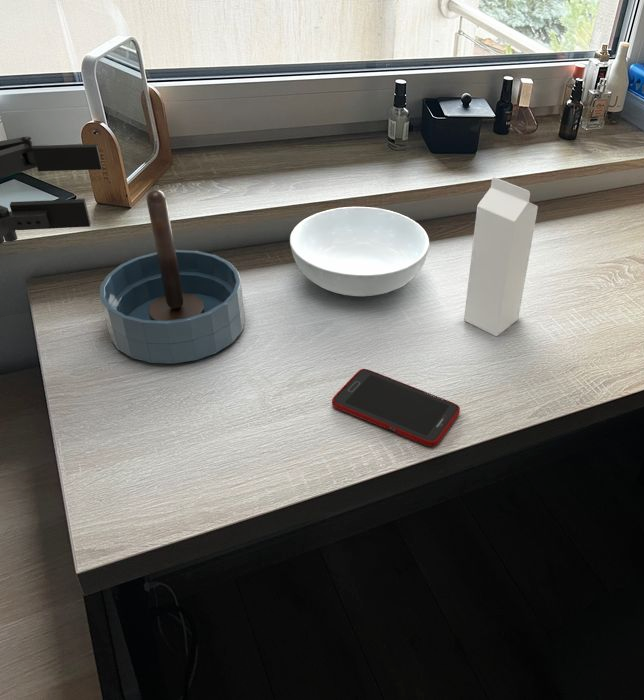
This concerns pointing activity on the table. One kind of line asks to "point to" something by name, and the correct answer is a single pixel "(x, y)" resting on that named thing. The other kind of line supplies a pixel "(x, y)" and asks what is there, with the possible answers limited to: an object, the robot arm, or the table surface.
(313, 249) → the serving bowl
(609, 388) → the table surface
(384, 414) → the cell phone
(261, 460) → the table surface
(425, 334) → the table surface
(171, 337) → the mixing bowl
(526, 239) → the milk
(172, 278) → the paper towel holder
